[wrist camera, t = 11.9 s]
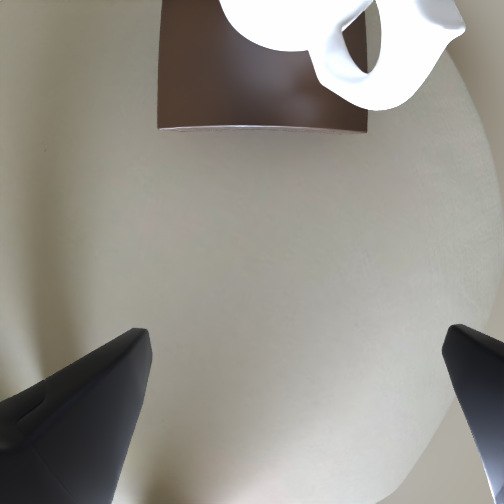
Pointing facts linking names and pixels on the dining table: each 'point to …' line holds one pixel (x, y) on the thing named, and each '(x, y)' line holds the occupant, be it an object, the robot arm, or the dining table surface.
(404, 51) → the mug
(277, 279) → the dining table surface
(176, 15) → the wooden box
